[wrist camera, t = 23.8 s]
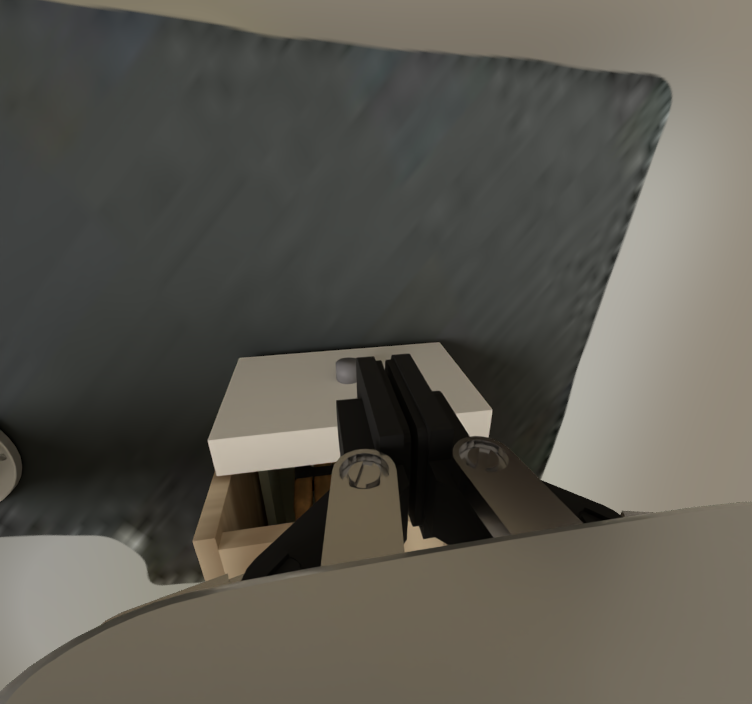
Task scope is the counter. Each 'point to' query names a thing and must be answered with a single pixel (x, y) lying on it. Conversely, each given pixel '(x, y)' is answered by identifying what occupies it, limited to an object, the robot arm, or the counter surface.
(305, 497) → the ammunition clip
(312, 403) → the drawer
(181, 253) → the counter surface
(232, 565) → the cabinet
